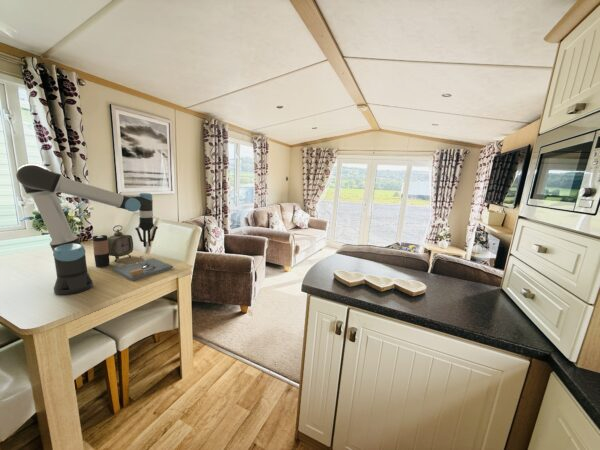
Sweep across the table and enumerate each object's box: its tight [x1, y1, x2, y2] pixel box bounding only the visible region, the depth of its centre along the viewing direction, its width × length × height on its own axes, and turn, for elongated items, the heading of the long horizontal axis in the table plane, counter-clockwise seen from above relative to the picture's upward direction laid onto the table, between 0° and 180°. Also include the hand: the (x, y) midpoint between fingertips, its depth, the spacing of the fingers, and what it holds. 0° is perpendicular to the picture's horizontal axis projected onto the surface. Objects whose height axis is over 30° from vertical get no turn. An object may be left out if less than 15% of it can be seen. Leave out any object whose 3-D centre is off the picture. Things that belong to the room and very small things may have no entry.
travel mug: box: [92, 234, 111, 268], centre depth 157 cm, size 8×8×20 cm
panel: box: [112, 257, 174, 282], centre depth 156 cm, size 25×24×2 cm
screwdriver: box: [129, 267, 153, 276], centre depth 146 cm, size 12×3×3 cm, turn 149°
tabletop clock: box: [107, 224, 134, 263], centre depth 169 cm, size 14×9×25 cm, turn 168°
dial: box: [139, 255, 153, 269], centre depth 156 cm, size 15×6×5 cm, turn 50°
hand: (147, 251), depth 160 cm, fingers closed
